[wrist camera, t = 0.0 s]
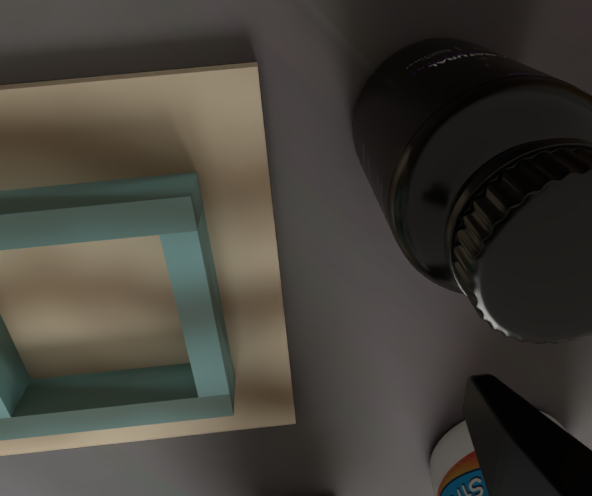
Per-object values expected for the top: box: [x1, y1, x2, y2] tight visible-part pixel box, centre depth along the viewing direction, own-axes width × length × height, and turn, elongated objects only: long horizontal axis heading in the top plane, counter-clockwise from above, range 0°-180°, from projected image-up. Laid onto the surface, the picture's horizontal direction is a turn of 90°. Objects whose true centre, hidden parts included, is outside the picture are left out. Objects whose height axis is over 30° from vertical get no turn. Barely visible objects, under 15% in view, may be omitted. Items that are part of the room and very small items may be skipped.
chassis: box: [0, 62, 296, 456], centre depth 23 cm, size 20×18×4 cm
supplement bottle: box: [353, 38, 592, 344], centre depth 17 cm, size 7×7×12 cm
